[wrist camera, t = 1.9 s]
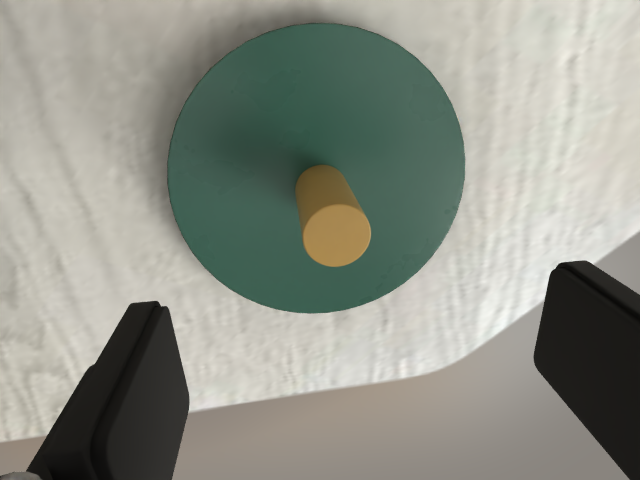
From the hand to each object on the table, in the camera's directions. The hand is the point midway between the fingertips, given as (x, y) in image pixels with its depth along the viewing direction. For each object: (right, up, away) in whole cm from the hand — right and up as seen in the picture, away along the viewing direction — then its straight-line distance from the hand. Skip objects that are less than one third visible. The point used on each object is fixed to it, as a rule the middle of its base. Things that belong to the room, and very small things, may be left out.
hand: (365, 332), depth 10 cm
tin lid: (-1, +5, +9) cm, 11 cm away
